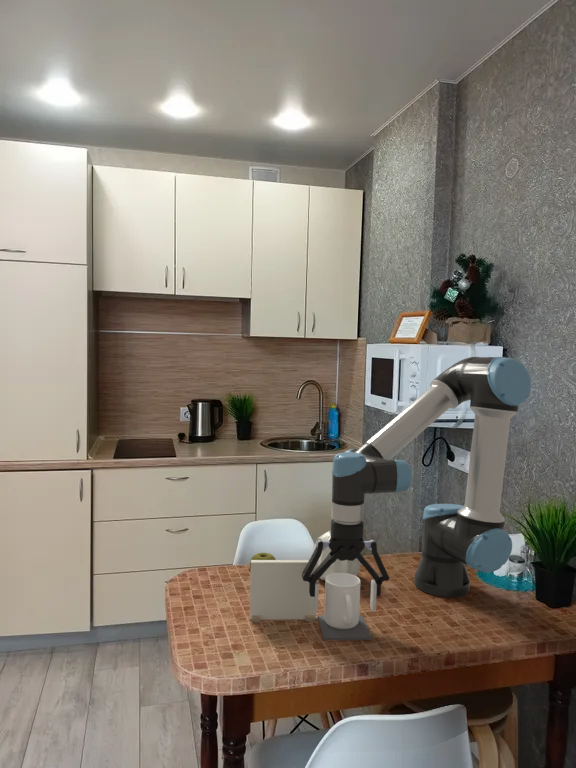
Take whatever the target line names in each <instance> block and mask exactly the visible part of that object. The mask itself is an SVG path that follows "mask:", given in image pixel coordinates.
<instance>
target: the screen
mask: <svg viewBox="0 0 576 768" xmlns="http://www.w3.org/2000/svg"><path fill="white" fill-rule="evenodd" d="M309 560H310V559H276V560H251V559H250V561H251V571H250V589H249V591H250V592H249V621H251V623H260V622H261V620H263V621H266V620H270V621H271V620H278V621H279V620H305V622H308V623H309V622H311V623H313V622H315V620H316V619H317V612H314V608H313V598H314V597H311V596H310V593H309V582H308V581H304V580H303V578H302V573H303V571H304V569H305V567H306V565H307V563H308V562H309ZM317 566H318V562H317V563H316V565H315V567H314V569H313V571H312V573H313V572H314V571H315V570H316V568H317ZM312 573H311V574H312Z"/></svg>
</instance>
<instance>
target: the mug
mask: <svg viewBox="0 0 576 768" xmlns="http://www.w3.org/2000/svg"><path fill="white" fill-rule="evenodd" d="M324 581H325V582H324V587H325V588H324V612H323V613H324V614H323V615H324V619H325V622H326V623H327V624H328V625H329V626H331V627H333V628H337V629H350V628H353V627H355V626H356V625H357V624H358V622H359V615H360V603H361V579H360V578H359V577H358V575H357V576H355V575H352V574H347V573H333V574H330V575H328V576H327V577H326V579H325V580H324Z"/></svg>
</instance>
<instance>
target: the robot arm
mask: <svg viewBox="0 0 576 768" xmlns="http://www.w3.org/2000/svg"><path fill="white" fill-rule="evenodd" d="M429 386H430V387H429V388H428V389H426V391H424V392H423V393H422V394H421V395H420V396H419V397H418V398H416V399H415V400H414V401H413V402H411V403H410V404H409V405H408V406H407V407H405V409H403V410H402V411H401V412H400V413H398V414H397V415H396V416H395V417H394V418H392V420H390V421H389V422H388V423H387V424H386V425H384V426H383V427H382V428H381V429H380V430H378V432H376V433H375V434H374V435H373V436H372V437H371V438H369V439H368V440H367V441H366V442H365V443H363V444H362V445H361V446H359V447H358V448H351V449H348V450H345V451H344V452H339V453H337V454H335V455H334V458H333V463H332V470H331V474H332V480H331V481H332V483H331V484H332V487H331V514H330V516H331V522H330V531H331V537H330V540H329V541H322V540H321V539H318V538H317V539H318V540H317V539H316V541H317V543H316V542H315V544H316V549H315V550H314V549H313V552H312V554H311V556H310V558H309V559H308V560H309V562H308V563H307V565H306V567H305V569H304V571H303V573H302V578H303V580H304V581H308V582H309V593H310V596H311V597H314V598H313V608H314V612H316V613H318V612H319V591H320V590H319V589H320V588H319V587H320V584H319V581H318V580H320V577H321V576H322V575H323V573H324V572H325V571H326V570H327V569H328V568H329V567H330V566H331V564H332V563H334V562H335V561H336V560H337V559H339V560H340V561H344V560H349V561H353V560H354V559H356V558H357V559H358V560H359V562H360V563H361V565H362V566H363V567H364V569H365V570H366V571H367V572H368V574H369V575H370V576H371V578H372V579H371V580H370V598H369V599H370V601H369V608H370V609H371V611H372V612H373V613H375V612H376V611H377V597H380V596H381V593H382V584H383V582H385V581H386V582H388V581H390V576H389V574H388V571H387V570H386V568H385V565H384V563H383V561H382V559H381V557H380V554H379V553H378V546H377V542H376V541H375V540H374V538H370V539H369V540H364V521H363V520H364V517H365V515H364V514H365V495H366V494H367V495H368V494H382V493H383V494H384V493H385V494H386V493H395V494H396V493H398V492H404V491H407V490H409V488H410V487H411V485H412V481H413V473H412V468H411V466H410V464H409V463H408V462H407V461H406V460H403V459H394V458H393V457H396V455H397V454H399V452H401V450H403V449H405V447H407V446H408V445H409V444H411V442H413V440H414V439H416V438H417V437H418V436H419V435H420V434H422V432H423V431H425V430H426V429H427V428H428V427H429V426H431V425H432V424H433V423H434V422H435V421H437V420H438V419H439V418H440V417H441V416H442V415H443V414H445V413H446V412H447V411H448V410H449V409H453V410H454V409H456V408H457V407H458V406H459V405H461V404H462V403H465V402H467V401H470V403H469V408H470V409H471V410H472V412H473V413H474V422H473V429H472V430H473V431H472V439H471V448H470V456H469V463H468V471H467V472H468V473H467V481H466V489H465V499H464V505H462V504H456V503H434V504H433V503H432V504H428V505H427V506H425V507H424V509H423V514H422V535H421V536H422V539H421V541H422V542H421V557H420V561H419V563H418V564H417V568H416V571H415V573H414V578H413V580H414V582H413V584H414V585H415V587H416V588H417V589H418V590H420V591H421V592H424V593H426V594H429V595H433V596H436V597H443V598H459V597H464V596H467V595H468V594H469V593H470V591H471V579H470V576H469V573H468V569H467V566H468V567H469V568H471V569H473V570H477V571H479V572H481V573H493V572H496V571H498V570H500V569H501V568H502V567H503V566H505V564H506V563H507V562H508V560H509V559H510V557H511V554H512V550H513V540H512V538H511V537H510V535H509V533H508V532H507V531H506V530H505V521H506V519H505V517H504V516H503V515H502V514H501V512H500V510H501V503H502V502H501V501H502V495H503V494H502V492H503V484H504V477H505V476H504V475H505V470H506V469H505V467H506V460H507V458H506V457H507V450H508V442H509V441H508V440H509V432H510V425H511V424H510V423H511V419H512V418H513V417H515V415H517V414H518V412H519V406H520V405H522V404H523V403H524V402H526V399H528V398H529V396H530V394H531V390H532V379H531V375H530V373H529V370H528V369H527V368H526V367H525V365H524V364H523V362H521V361H520V360H518V359H515V358H511V357H504V356H494V357H493V356H492V357H491V356H489V357H488V356H485V357H484V356H483V357H482V356H470V357H467V358H464V359H462V360H459V361H457V362H456V363H453V364H452V365H451V366H449V367H448V368H446V369H445V370H444V371H442V372H441V373H440V374H439V375H438V376H437V377H435V378H434V379H433V380H431V381H430V384H429ZM392 458H393V459H392ZM326 547H329V548H330V549H331V551H330V553H329V554H328V556H327V557H326V558H325V559H324V560H323V562H322V563H321V564H320V565H319V566H318V567H317V568H316V570H315V571H314V572H313V573H312V571H313V569H314V567H315V565H316V563H317V562H318V560H319V558H320V556H321V554H322V551H324V550H325V549H326ZM365 548H366V549H367V551H369V552H370V553H371V555H372V557H373V560H374V561H375V563H376V565H377V568H378V570H379V573H380V574H378V573H377V571H376V570H375V569H374V568H373V567H372V565H371V564H370V563H369V562H368V560H367V559H366V558H365V556H363V554H362V551H363V550H364V549H365ZM466 565H467V566H466ZM311 573H312V574H311Z"/></svg>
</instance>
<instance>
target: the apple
mask: <svg viewBox="0 0 576 768" xmlns="http://www.w3.org/2000/svg"><path fill="white" fill-rule="evenodd" d="M251 560H277V558H276V557H275V556H274V555H273V554H271V553H268V552H259V553H256V554H253V555H252V557H251V559H250V561H249V570H250V571H249V572H251Z"/></svg>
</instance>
